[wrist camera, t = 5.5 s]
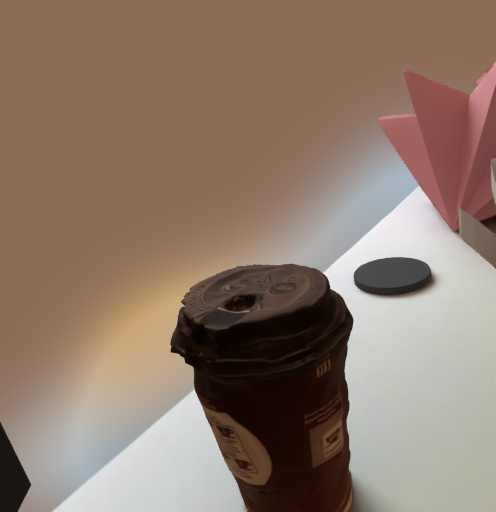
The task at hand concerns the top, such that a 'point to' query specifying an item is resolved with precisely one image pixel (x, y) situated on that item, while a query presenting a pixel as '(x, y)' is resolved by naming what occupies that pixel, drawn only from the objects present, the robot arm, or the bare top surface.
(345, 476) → the coffee cup
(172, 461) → the top surface
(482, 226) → the decorative bowl
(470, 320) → the top surface
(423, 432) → the top surface
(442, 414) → the top surface
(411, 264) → the mat
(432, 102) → the sculpture
